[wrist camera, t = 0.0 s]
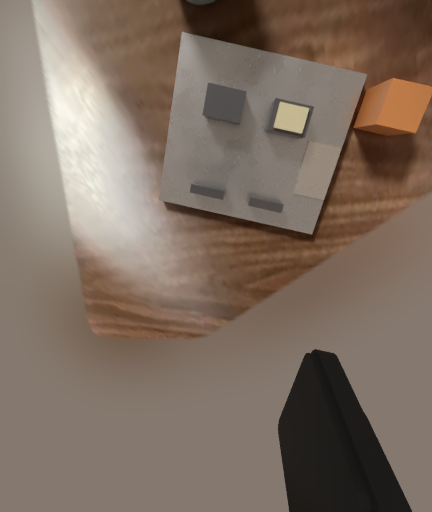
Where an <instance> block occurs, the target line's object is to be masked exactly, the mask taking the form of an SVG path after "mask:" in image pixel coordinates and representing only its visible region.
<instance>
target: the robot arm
mask: <svg viewBox="0 0 432 512" xmlns="http://www.w3.org/2000/svg"><path fill="white" fill-rule="evenodd" d="M278 434H279V441H280V449H281V456H282V463H283V470H284V477H285V484H286V491H287V498H288V505H289V512H412V510H411V508H410V506H409V504H408V502H407V500H406V498H405V496H404V493H403V491H402V489H401V487H400V485H399V483H398V481H397V479H396V477H395V475H394V473H393V470H392V468H391V466H390V464H389V462H388V460H387V458H386V456H385V454H384V452H383V449H382V447H381V446H380V443H379V441H378V439H377V437H376V435H375V433H374V431H373V429H372V427H371V424H370V422H369V420H368V418H367V416H366V415H365V413H364V412H363V410H362V408H361V406H360V404H359V402H358V400H357V397H356V395H355V393H354V391H353V389H352V387H351V385H350V383H349V381H348V378H347V376H346V374H345V372H344V370H343V368H342V366H341V364H340V362H339V359H338V357H337V356H336V355H335V354H334V353H330V352H325V351H321V350H316V349H315V350H313V351H312V352H311V354H310V353H306V354H305V356H304V358H303V361H302V363H301V366H300V368H299V371H298V373H297V376H296V378H295V381H294V383H293V386H292V388H291V391H290V394H289V396H288V399H287V401H286V404H285V406H284V409H283V411H282V414H281V416H280V419H279V424H278Z"/></svg>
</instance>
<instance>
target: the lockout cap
mask: <svg viewBox="0 0 432 512" xmlns="http://www.w3.org/2000/svg"><path fill="white" fill-rule="evenodd" d="M431 96H432V87H431V86H427V85H423V84H418V83H414V82H409V81H405V80H401V79H396V78H392V79H389V80H387V81H385V82H383V83H381V84H378V85H376V86H374V87H372V88H370V89H367V90H366V93H365V96H364V98H363V101H362V104H361V107H360V110H359V113H358V116H357V118H356V121H355V124H354V127H353V128H355V129H359V130H364V131H368V132H373V133H377V134H381V135H386V136H388V135H400V134H412V133H416V131H417V129H418V127H419V124H420V122H421V119H422V117H423V115H424V112H425V110H426V108H427V105H428V103H429V101H430V98H431Z"/></svg>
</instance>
